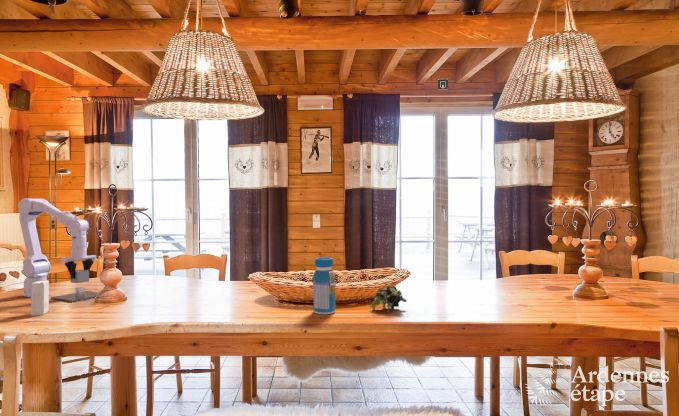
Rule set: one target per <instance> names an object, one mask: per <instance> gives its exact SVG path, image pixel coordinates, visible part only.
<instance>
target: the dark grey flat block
mask: <svg viewBox="0 0 679 416" xmlns="http://www.w3.org/2000/svg"><path fill="white" fill-rule="evenodd" d="M85 288H86V287H85V286H78V287H75V288H74V290H75V292H72V293H71V292H70V293H67V294H66V293H65V294H61V295H56V296H51V297H50V299H51V300H54V299H56V300H55V301H60V300H61V301H60V302H66V301H67V302H68V303H72V302H73V303H77V301H78V302H82V300H83V301H86V300H87V299H88V300H93V299H96V298H95V297H96V296H97V294H98V293H100V292H98V291H91V290H85ZM92 298H93V299H92ZM88 300H87V301H88Z"/></svg>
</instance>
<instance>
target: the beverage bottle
mask: <svg viewBox="0 0 679 416" xmlns="http://www.w3.org/2000/svg"><path fill="white" fill-rule="evenodd" d="M314 266H315V268H316V269H315V271H314V273H313V276H312V279H313V282H312V289H313V290H312V291H313V292H312V293H313V312H314V313H315V314H316V315H317V314H318V315H332V314H334V313H336V283H337V282H336V280H335V278H336V275H335V272H334V270H333V269H332V268H333V267H334V260H333V257H323V256H322V257H316V258H314Z"/></svg>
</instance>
